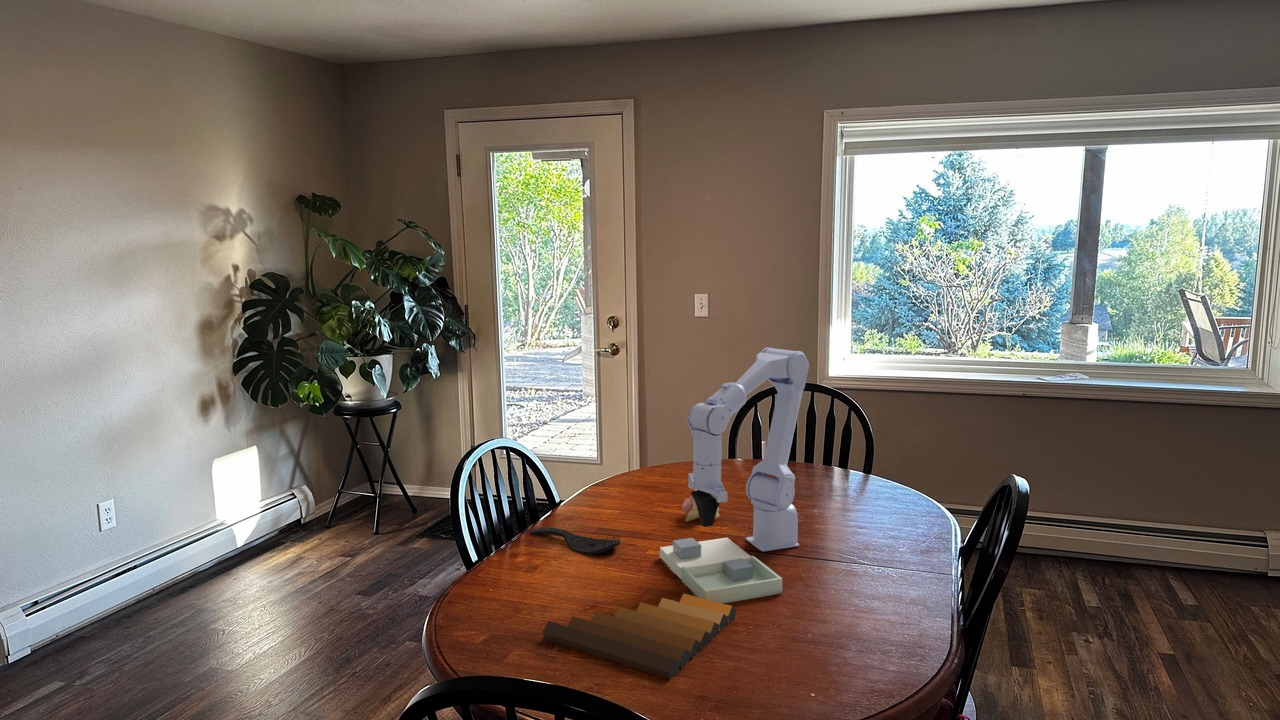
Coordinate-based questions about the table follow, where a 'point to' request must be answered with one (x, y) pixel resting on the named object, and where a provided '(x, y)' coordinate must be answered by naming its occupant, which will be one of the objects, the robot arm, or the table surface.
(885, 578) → the table surface
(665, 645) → the pan flute
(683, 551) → the tile outer
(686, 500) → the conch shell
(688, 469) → the table surface
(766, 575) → the box
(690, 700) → the table surface
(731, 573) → the squat square grey block
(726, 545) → the board
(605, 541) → the hairbrush
